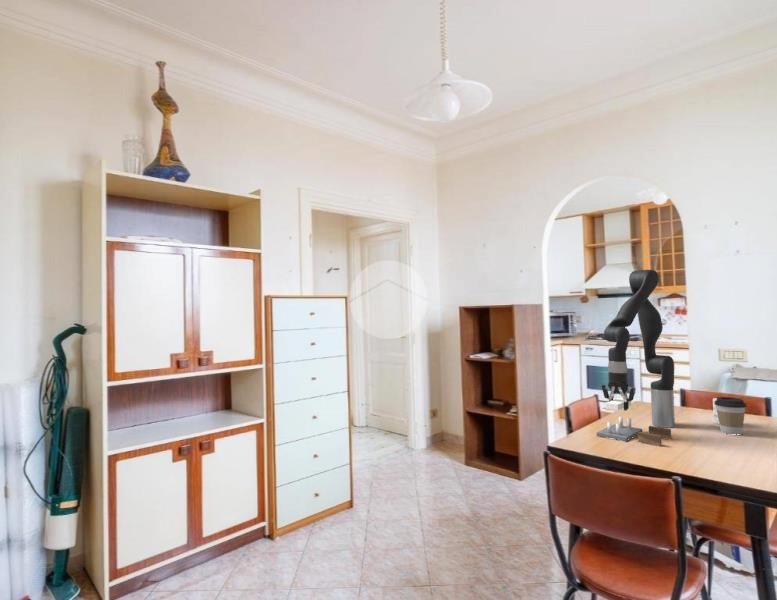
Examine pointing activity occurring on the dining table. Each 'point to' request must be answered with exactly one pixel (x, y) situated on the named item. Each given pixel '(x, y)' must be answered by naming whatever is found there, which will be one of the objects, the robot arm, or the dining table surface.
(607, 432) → the peg rack
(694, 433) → the dining table surface
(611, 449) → the dining table surface
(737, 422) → the coffee cup
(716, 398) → the ink box
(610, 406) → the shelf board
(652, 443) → the rails
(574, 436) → the dining table surface
